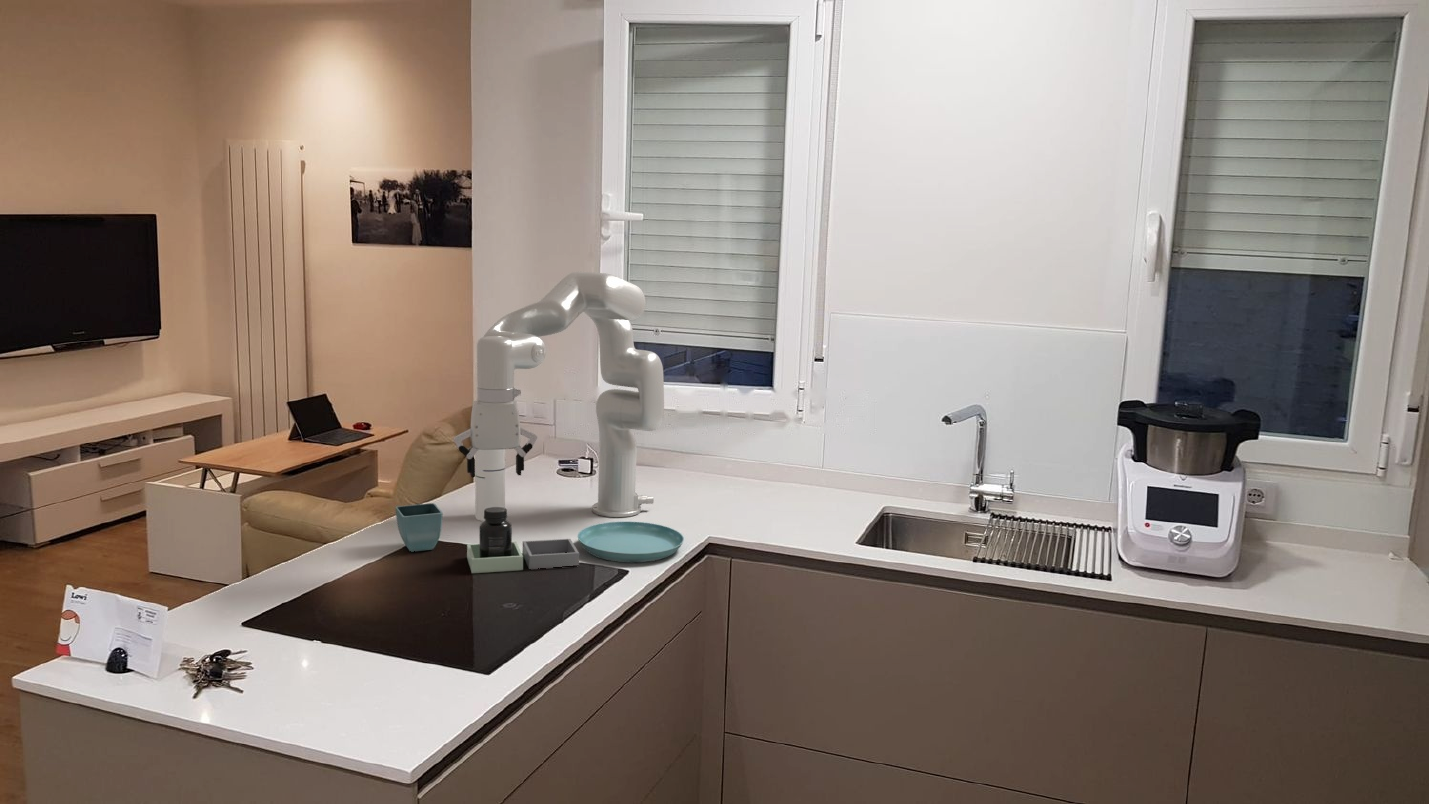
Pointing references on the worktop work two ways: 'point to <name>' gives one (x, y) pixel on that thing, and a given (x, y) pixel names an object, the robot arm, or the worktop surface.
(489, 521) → the supplement bottle
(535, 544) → the grey bin
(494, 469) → the cylindrical container
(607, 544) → the teal plate
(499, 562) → the green bin
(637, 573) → the worktop surface
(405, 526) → the flower pot
